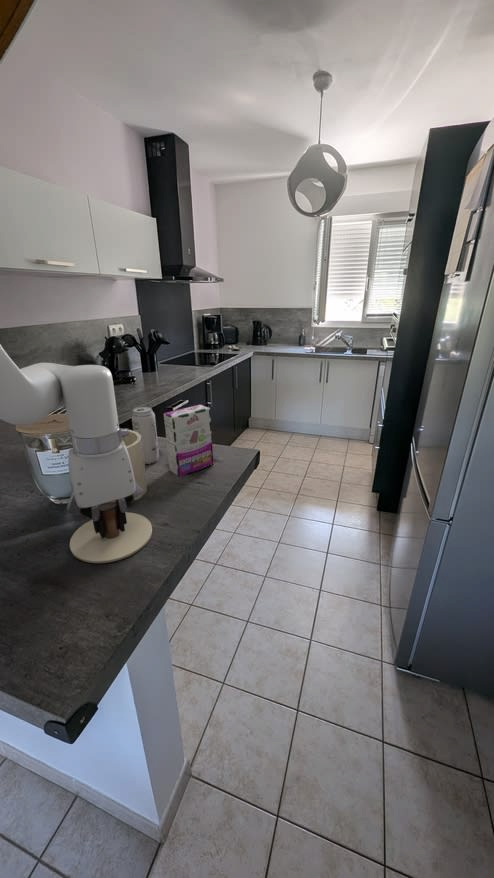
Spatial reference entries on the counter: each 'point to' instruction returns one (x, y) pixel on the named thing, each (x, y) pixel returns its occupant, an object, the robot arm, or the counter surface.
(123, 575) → the counter surface
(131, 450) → the canister
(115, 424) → the robot arm
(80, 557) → the lid
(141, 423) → the energy drink can
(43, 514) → the counter surface
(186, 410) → the candy bar box
